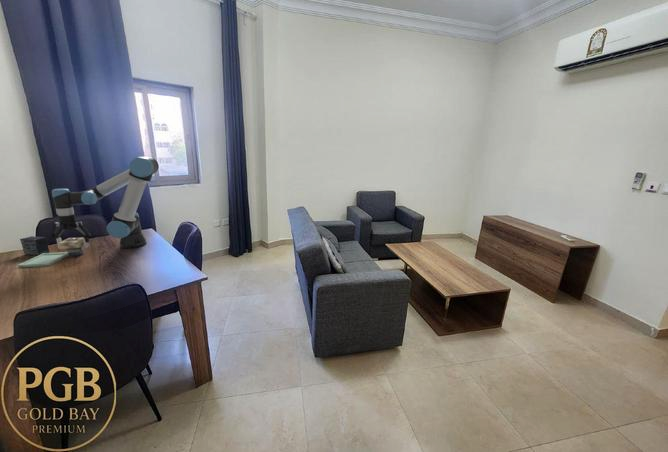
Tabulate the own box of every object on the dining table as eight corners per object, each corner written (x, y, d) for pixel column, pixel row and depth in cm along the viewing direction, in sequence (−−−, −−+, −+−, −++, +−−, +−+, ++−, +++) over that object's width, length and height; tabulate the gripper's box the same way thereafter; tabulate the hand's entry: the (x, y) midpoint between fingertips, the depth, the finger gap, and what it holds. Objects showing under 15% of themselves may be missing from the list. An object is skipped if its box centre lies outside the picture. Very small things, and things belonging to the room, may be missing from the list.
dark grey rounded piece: (86, 252, 172) (82, 236, 169) (79, 256, 166) (74, 240, 163) (73, 253, 171) (69, 236, 168) (65, 257, 164) (61, 240, 161)
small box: (50, 252, 171) (46, 236, 169) (39, 256, 165) (34, 240, 162) (36, 251, 172) (31, 235, 169) (23, 255, 166) (19, 239, 163)
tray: (70, 254, 169) (70, 251, 169) (48, 265, 152) (48, 263, 152) (44, 255, 166) (43, 253, 166) (18, 267, 149) (17, 265, 149)
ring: (87, 243, 172) (85, 237, 171) (77, 248, 163) (76, 242, 162) (70, 243, 170) (68, 238, 169) (59, 248, 162) (58, 242, 160)
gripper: (94, 212, 167) (101, 244, 173) (46, 213, 162) (54, 246, 168) (86, 215, 160) (93, 248, 166) (35, 216, 155) (45, 250, 161)
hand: (74, 247), depth 167 cm, fingers open, 13 cm apart
